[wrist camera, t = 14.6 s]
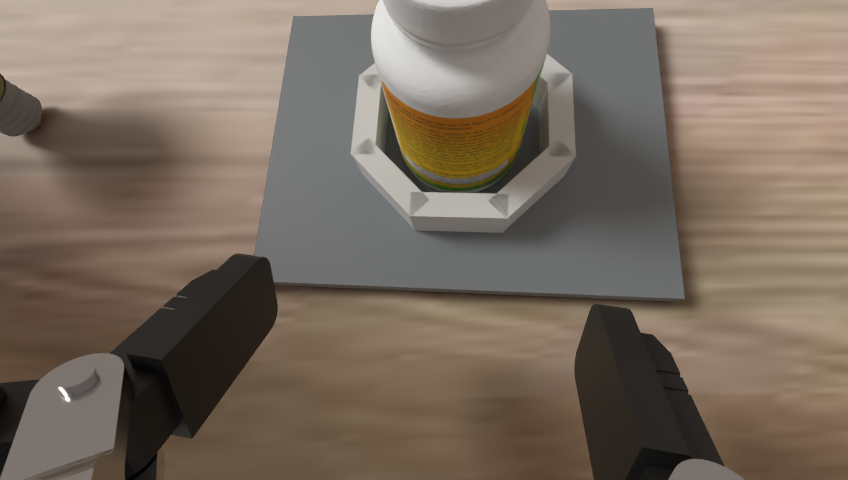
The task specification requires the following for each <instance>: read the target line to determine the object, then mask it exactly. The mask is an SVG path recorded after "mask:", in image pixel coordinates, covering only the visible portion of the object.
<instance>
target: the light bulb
mask: <svg viewBox="0 0 848 480" xmlns="http://www.w3.org/2000/svg"><path fill="white" fill-rule="evenodd" d="M41 113H42V107H41V103H40V101H39V100H38V99H37V98H35V97H33V96H32V95H30V94H28V93H26V92H25V91H23V90H21V89H19V88H18V87H16V86H15V85H13V84H11V83H10V82H8V81H7V80H5V79H4V77H3V76H2V75H1V74H0V132H1V133H3V134H5V135H8V136H19V135H23V134H25V133H27V132H30V131H33V130H36V129H37V128H38V127H39V126H40V125H41V122H42V118H41Z"/></svg>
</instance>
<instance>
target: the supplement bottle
mask: <svg viewBox="0 0 848 480" xmlns="http://www.w3.org/2000/svg"><path fill="white" fill-rule="evenodd" d="M550 29H551V28H550V16H549V11H548V7H547V4H546V1H545V0H379V2H378V5H377V7H376V10H375V13H374V16H373V21H372V28H371V46H372V52H373V57H374V61H375V65H376V68H377V72H378V75H379V78H380V82H381V85H382V88H383V92H384V95H385V98H386V102H387V105H388V109H389V112H390V115H391V119H392V122H393V126H394V129H395V133H396V136H397V140H398V143H399V146H400V149H401V152H402V155H403V158H404V161H405V163H406V164H407V166H408V168H409V169H410V171H411V172H412V173H413V174H414V175H415V177H417V178H418V179H419V180H420V181H421V182H422V183H424V184H425V185H427V186H428V187H430V188H432V189H434V190H437V191H440V192H443V193H475V192H478V191H481V190H484V189H486V188H488V187H490V186H492V185H493V184H495V183H496V182H498V181H499V180H500V179H501V178H502V177H504V176H505V174H506V173H507V172H508V171H509V170H510V168H511V167H512V165H513V164H514V162H515V160H516V158H517V155H518V152H519V149H520V146H521V142H522V138H523V135H524V131H525V128H526V124H527V120H528V117H529V113H530V110H531V106H532V102H533V99H534V95H535V92H536V89H537V85H538V82H539V79H540V75H541V72H542V69H543V65H544V62H545V58H546V54H547V50H548V45H549V40H550Z"/></svg>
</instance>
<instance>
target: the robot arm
mask: <svg viewBox="0 0 848 480" xmlns="http://www.w3.org/2000/svg"><path fill="white" fill-rule="evenodd" d="M277 309H278V305H277V299H276V293H275V287H274V281H273V276H272V270H271V265H270V262H269V260H268V259H267V258H266V257H260V256H252V255H245V254H234V255H233V256H231V257H230V258H229V259H228V260H227V261H226V262H225V263H224V264H223V265H222V266H220V267H219V268H218V269H217V270H212V271H210V272H208V273H206V274H204V275H202V276H200V277H198V278H196V279H194V280H192V281H191V282H190V283H189V284H188V285H187V286H185V287H184V288H183V289H182V290H181V291H180V292H179V293H178V294H177V296H176V297H173V298H172V299H171V300H170V301H168V302H167V303H166V304H165V305H164V308H163V309H159V310H158V311H157V312H156V313H155V314H154V315H153V316H151V317H150V318H149V319H148V320H147V321H146V322H145V323H144V324H142V325H141V326H140V327H139V328H138V329H137V330H136V331H134V332H133V333H132V334H131V335H130V336H129V337H128V338H127V339H125V340H124V341H123V342H122V343H121V344H120V345H119V346H117V347H116V348H115V349H114V350H113V351H112V352H111V353H96V354H89V355H85V356H81V357H78V358H75V359H73V360H70V361H68V362H66V363H64V364H62V365H60V366H58V367H56V368H55V369H53V370H52V371H50V372H49V373H47V374H46V375H45V376H44V377H43V378H42V379H40V380H30V381H20V382H9V383H0V480H164V451H163V448H162V445H163V444H164V443H165V441H166V440H167V439H168V438H169V436H170V435H176V436H181V437H186V438H191V439H192V438H193V437H194V435H195V434H196V433H197V431H198V430H199V429H200V427H201V426H202V424H203V423H204V422H205V420H206V419H207V417H208V416H209V415H210V413H211V412H212V411H213V409H214V408H215V406H216V405H217V404H218V402H219V401H220V399H221V398H222V397H223V395H224V394H225V392H226V391H227V390H228V388H229V387H230V386H231V384H232V383H233V381H234V380H235V379H236V377H237V376H238V374H239V373H240V372H241V370H242V369H243V368H244V366H245V365H246V363H247V362H248V361H249V359H250V358H251V356H252V355H253V354H254V352H255V351H256V349H257V348H258V347H259V345H260V344H261V343H262V341H263V340H264V338H265V337H266V336H267V334H268V333H269V331H270V330H271V329H272V327H273V325H274V323H275V320H276V316H277ZM575 380H576V386H577V391H578V396H579V402H580V407H581V412H582V418H583V423H584V428H585V434H586V439H587V444H588V450H589V455H590V460H591V466H592V471H593V476H594V480H745V479H743V478H742V477H741V476H739V475H738V474H736V473H735V472H733V471H731V470H730V469H728V468H726V467H725V466H724V464H723V462H722V460H721V458H720V456H719V454H718V452H717V450H716V448H715V445H714V443H713V441H712V439H711V437H710V435H709V433H708V431H707V429H706V426H705V424H704V422H703V420H702V418H701V416H700V414H699V412H698V410H697V408H696V405H695V403H694V401H693V399H692V397H691V395H688V389H687V386H686V384H685V382H684V380H683V378H682V377H680V372H679V370H678V368H677V365H676V363H675V361H674V359H673V357H672V355H671V353H670V352H669V351H668V350H667V349H666V348H665V347H664V346H663V345H662V344H661V343H660V342H659V341H658V340H657V339H656V338H655V337H654V336H653V335H651V334H644V333H640V331H639V328H638V326H637V323H636V321H635V318H634V316H633V314H632V312H631V310H630V309H627V308H620V307H613V306H606V305H599V304H594V305H593V306H592V307H591V309H590V312H589V315H588V318H587V321H586V324H585V327H584V330H583V334H582V337H581V340H580V343H579V346H578V349H577V352H576V357H575Z"/></svg>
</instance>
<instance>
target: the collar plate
mask: <svg viewBox="0 0 848 480" xmlns="http://www.w3.org/2000/svg"><path fill="white" fill-rule="evenodd" d="M373 16H374V15H336V16H293V21H292V27H291V34H290V40H289V46H288V52H287V58H286V64H285V70H284V76H283V82H282V89H281V95H280V101H279V107H278V113H277V119H276V125H275V131H274V137H273V143H272V150H271V156H270V162H269V168H268V174H267V180H266V186H265V192H264V198H263V205H262V211H261V217H260V223H259V229H258V235H257V241H256V247H255V253H254V256H260V257H266V258H267V259H268V260H269V262H270V265H271V270H272V276H273V281H274V285H285V286H309V287H333V288H357V289H381V290H404V291H428V292H452V293H476V294H500V295H524V296H548V297H571V298H595V299H619V300H643V301H667V302H673V301H678V300H682V299H685V296H684V287H683V277H682V268H681V259H680V250H679V241H678V232H677V223H676V213H675V204H674V195H673V186H672V177H671V168H670V159H669V149H668V140H667V131H666V122H665V113H664V104H663V95H662V85H661V76H660V67H659V58H658V49H657V40H656V31H655V21H654V12H653V8H638V9H595V10H552V11H549V16H550V28H551V29H550V40H549V45H548V50H547V54H546V58H545V62H544V65H543V69H542V72H541V75H540V79H539V82H538V85H537V89H536V92H535V95H534V99H533V102H532V106H531V110H530V113H529V117H528V120H527V124H526V128H525V131H524V135H523V138H522V142H521V146H520V149H519V152H518V155H517V158H516V160H515V162H514V164H513V165H512V167H511V168H510V170H509V171H508V172H507V173H506V174H505V176H504V177H502V178H501V179H500V180H499V181H498V182H496V183H495V184H493V185H492V186H490V187H488V188H486V189H484V190H481V191H478V192H475V193H443V192H440V191H437V190H434V189H432V188H430V187H428V186H427V185H425V184H424V183H422V182H421V181H420V180H419V179H418V178H417V177H415V175H414V174H413V173H412V172H411V171H410V169H409V168H408V166H407V164H406V163H405V161H404V158H403V155H402V152H401V149H400V146H399V143H398V140H397V136H396V133H395V129H394V126H393V122H392V119H391V115H390V112H389V109H388V105H387V102H386V98H385V95H384V92H383V88H382V85H381V82H380V78H379V75H378V72H377V68H376V65H375V61H374V57H373V52H372V46H371V28H372V21H373Z"/></svg>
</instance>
